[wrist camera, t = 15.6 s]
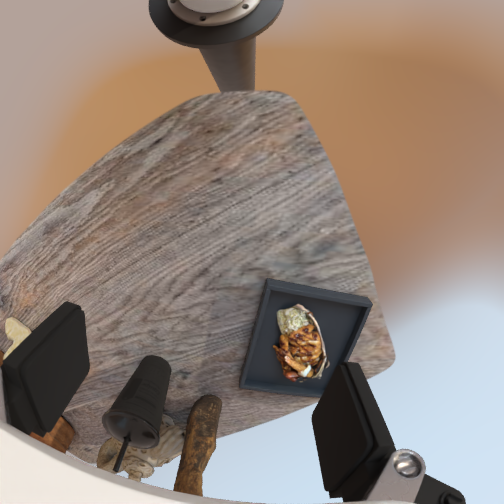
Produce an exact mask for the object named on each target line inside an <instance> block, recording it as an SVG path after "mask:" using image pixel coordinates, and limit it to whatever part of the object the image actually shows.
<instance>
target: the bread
mask: <svg viewBox="0 0 504 504" xmlns="http://www.w3.org/2000/svg"><path fill="white" fill-rule="evenodd" d="M3 357H4V353H3V352H2V351H1V350H0V366H1V365H2V364H3V360H4V359H3ZM74 433H75V432H74V430H73V429H72V427H71V426H70V425H69V424H68V422H67V421H66V420H65V419H64V418H63V417H61V416H60V418H59V420H58V421H57V423H56V425H55V426H54V428H53V430H52V431H51V432H50V433H48V432H47V433H46V434H45V436H44V438H42V437H41V436H39V435H37V434H35V433H33V432H31V434H30V435H29V436H31V437H32V438H34V439H36V440H38V441H40V442H42V443H44V444H46V445H48V446H50V447H52V448H54V449H56V450H58V451H60V452H62V453H64V454H65V453H66V451H67V449H68V447H69V445H70V443H71V441H72V439H73V436H74Z"/></svg>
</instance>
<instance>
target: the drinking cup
mask: <svg viewBox="0 0 504 504" xmlns="http://www.w3.org/2000/svg"><path fill="white" fill-rule="evenodd" d="M170 375H171V367H170V365H169V364H168V362H167V361H166V360H164V359H163V358H161V357H158V356H154V355H151V356H147V357H145V358H144V359H143V360H142V362H141V363H140V365H139V366H138V368H137V369H136V371H135V372H134V374H133V375H132V377H131V378H130V380H129V381H128V383H127V384H126V386H125V387H124V389H123V390H122V392H121V393H120V395H119V396H118V398H117V399H116V401H115V402H114V404H113V405H112V407H111V408H110V410H109V411H107V412H106V413H105V414H104V415H103V417H102V423H103V426H104V428H105V429H106V431H107V432H108V433H109V434H110V435H111V436H112V437H114V438H115V439H116V440H118V441H120V442H121V443H123V444H122V446H121V449H120V452H119V454H118V457H117V459H116V462H115V465H114V467H113V471H114V472H117V473H118V471H119V469H120V466H121V463H122V460H123V458H124V455H125V452H126V449H127V447H128V446H130V447H134V448H138V449H152V448H155V447H156V446H157V445H158V444H159V442H160V434H159V432H160V426H161V421H162V415H163V410H164V405H165V400H166V395H167V390H168V385H169V380H170Z"/></svg>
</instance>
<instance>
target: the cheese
mask: <svg viewBox="0 0 504 504" xmlns="http://www.w3.org/2000/svg"><path fill="white" fill-rule="evenodd" d="M5 328H6V331H5V332H6V335H7V337H8V339H9V340H11V341H13V345H12V346H11V347H10V348H9V349H8V350H7V351H6V353H5V354H4V357H3V359H5V358H6V357H7V356H8V355H9V354H10V353H11V352H12V351H13V350H14V349H15V348H16V347H17V346H18V345H19V344H20V343H21V342H22V341H23V340H24V339H25V338H26V337H27V336H28V335H29V334H31V333H32V332H31V331H30V329H29V328H28V327H26V326H25V325H23V324H22V323H21V322H20V321H18V320H17V319H16V318H13V317H10V318H8V319H7V320H6V324H5Z"/></svg>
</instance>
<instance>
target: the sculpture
mask: <svg viewBox="0 0 504 504" xmlns="http://www.w3.org/2000/svg"><path fill="white" fill-rule="evenodd" d="M221 408H222V401H221V400H220V399H219V398H218V397H216V396H214V395H204V396H202V397H201V398H200V399H198V400H197V401H196V402H195V404H194V405H193V407H192V409H191V411H190V414H189V416H188V419H187V426H186V432H185V438H184V445H183V449H182V454H181V460H180V464H179V469H178V472H177V477H176V481H175V484H174V490H173V491H176V492H181V493H186V494H191V495H196V496H202V497H203V494H202V473H203V471H204V470H205V468H206V466H207V463H208V461H209V459H210V457H211V455H212V453H213V452H214V450H215V449H216V433H217V428H218V422H219V417H220V413H221Z"/></svg>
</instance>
